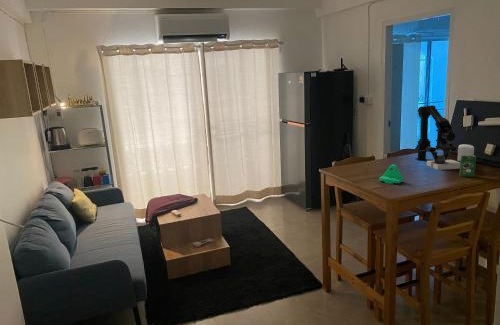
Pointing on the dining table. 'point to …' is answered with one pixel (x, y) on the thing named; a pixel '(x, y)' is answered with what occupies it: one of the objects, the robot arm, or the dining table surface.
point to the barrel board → (444, 165)
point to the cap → (440, 159)
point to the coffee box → (467, 166)
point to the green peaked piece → (392, 175)
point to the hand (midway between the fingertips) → (440, 161)
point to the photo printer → (465, 150)
